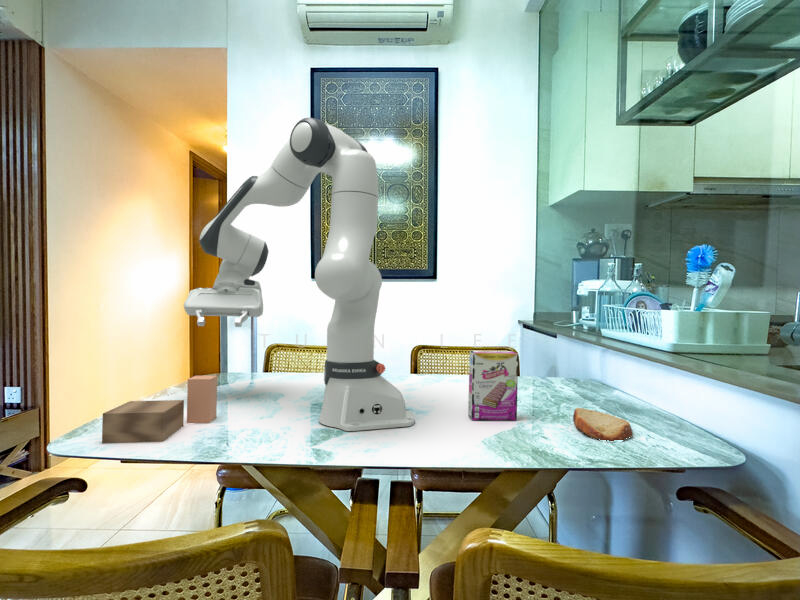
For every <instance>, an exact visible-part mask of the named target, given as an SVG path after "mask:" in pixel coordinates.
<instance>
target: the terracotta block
mask: <svg viewBox="0 0 800 600" xmlns="http://www.w3.org/2000/svg"><path fill="white" fill-rule="evenodd" d="M186 391H187V392H186V393H187V394H186V396H187V397H186V400H187V401H186V402H187V404H186V424H187V423H195V424H211V423H212V422H213V421H214V420H216V418H217V411H218V410H217V403H218V402H217V401H218V398H217V397H218V375H194V376H192V377H189V378H187V390H186ZM211 421H212V422H211ZM210 422H211V423H210Z"/></svg>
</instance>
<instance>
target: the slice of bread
mask: <svg viewBox="0 0 800 600" xmlns="http://www.w3.org/2000/svg"><path fill="white" fill-rule="evenodd" d="M572 417H573V418H572V420H573V424H574V426H575V428H576V429H577V430H578V429H579V430H578V431H580V432H581V433H582V432H583V434H584V433H585V435H586V436H587V437H588V436H589V438H591V437H592V438H591V439H593V438H595V439H600V440H606V441H607V440H609V441H614V440H624V439H625V440H627V439H626V438H629V437H631V436H632V437H633V435H634V434H633V429H632V426H631V424H630V422H628V421H627V420H626V419H624V418H619V417H617V416H615V415H611V414H608V413H604V412H601V411H598V410H597V411H596V410H591V409H587V408H583V407H576V408H575V410H574V412H573V416H572ZM632 437H631V438H632ZM595 439H594V440H595ZM629 439H630V438H629ZM600 440H599V441H600ZM625 440H624V441H625Z"/></svg>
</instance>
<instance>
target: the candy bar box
mask: <svg viewBox="0 0 800 600" xmlns="http://www.w3.org/2000/svg"><path fill="white" fill-rule="evenodd" d="M468 359H469V363H468V364H469V365H468V366H469V367H468V401H467V403H468V406H467V407H468V409H467V410H468V411H467V414H468V417H469V418H470V420H472V421H517V419H518V418H517V417H518V415H517V414H518V381H519V378H518V376H519V352H518V353H517V352H516V351H512V350H469V358H468Z"/></svg>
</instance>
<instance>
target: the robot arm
mask: <svg viewBox="0 0 800 600" xmlns="http://www.w3.org/2000/svg"><path fill="white" fill-rule="evenodd" d="M320 173H322V174H325V175H328V176H331V179H332V181H331V182H332V183H331V201H330V202H331V203H330V204H331V205H330V219H329V229H328V235H327V239H326V243H325V247H324V250H323V254H322V258H321V259H320V260H319V261H318V263H317V265H316V267H315V272H314V280H315V283H316V286H317V287H318V289H319V291H320V292H322V294H324V295H326V297H329V298H331V299H332V300H334V301H335V302H334V306H333V311H332V314H331V318H330V320H329V322H328V324H327V329H326V331H327V332H326V360H325V361H324V366H323V381H324V385H325V387H324V396H323V400H322V407H321V411H320V415H319V418H318V422H319V423H320V424H322V425H324V426H328V427H331V428H336V429H337V428H338V429H339V430H343V431H345V432H356V431H367V430H381V429H393V428H404V427H406V428H407V427H411V426H413V425H414V424H415V423H416V420H415V414H414V413H413V412H412V411H410V410H408V409H407V408H406V402H405V398H404V396H403V394H402V392H401V391H400V390H399V388H397V387H396V386H394V385H393V384H392V383H391V382H390V381H389V380H387V379H386V378H385V377H383V376H382V374H383V373H385V371H386V366H385V365H384V364H383V363H380V362H379V361H377V360H375V359H374V356H375V355H374V354H375V353H374V349H375V346H374V345H375V344H374V343H375V323H376V317H377V311H378V304H379V298H380V290H381V287H382V283H383V277H382V275H381V272H380V271H379V269H378V267H377V266H376V265H375V264H374V263H373V262H372V261H370V256H371V250H372V246H373V241H374V237H375V236H376V234H377V231H378V228H377V227H378V207H379V178H378V177H379V176H378V170H377V164H376V161H375V158H374V157H373V155H371V154H370V153H369V152H368V150H367V149H366V147H365V146H364V145H363V144H362V143H361V142H360V141H359V140H356V139H354V138H353V137H351V136H350V135H348V134H347V133H345V132H344V131H343V130H342V129H339V128H337V127H335V126H334V125H331V124H328V123H326V122H324V121H323V120H321V119H318V118H314V117H304V118H301V119H300V120H299V121H298V122H296V123H295V125H294V127H293V128H292V130H291V132H290V137H289V140H288V141H287V142H286V143H285V144H284V146H283V147H282V148H281V149H280V151H279V152H278V153H277V155H276V156H275V158H274V160H273V162H272V163H271V165H270V167H269V168H268V169H267V170H266V171H265V172H264V173H262V174H260V175H252V176H250V177H248V178H247V179H246V180H245V181H244V182H243V183H242V184H241V186H239V187H238V188H237V190H236V191H235V192H234V193H233V194H232V196H231V197H230V199H229V200H228V201H227V202H226V203H225V205H224V206H223V207H222V208H221V209H220V211H219V212H218V213H217V214H216V215H215V216H214V217H213V219H212V220H210V221H209V222H208V223H207V224H206V225H205V226H204V228H203V229H202V230H201V231H200V232H201V233H200V234H199V239H198V242H199V244H200V247H201V249H202V251H203V252H204V253H205V254H207V255H210V256H213V257H216V258H220V259H222V261H221V263H220V265H219V269H218V271H219V272H218V274H217V276H216V278H215V280H214V283H213V286H212V287H204V288H203V287H196V288H195V289H191V290H190V291H189V294H188V295H187V297H186V299H185V301H184V304H183V308H184V311H185V313H186V314H187V316H196V317H197V321H196V324H197V326H198V327H205V324H206V319H205V317H236V318H235V321H234V326H235V328H241V327H242V325H243V323H244V322H246V321H247V320H248V319H249V318H253V317H254V318H258V317H261V316H262V315H263V313H264V302H263V301H264V299H263V293H262V292H263V291H262V288H261V283H260V282H259V281H258V280H253V279H250V277H254V276H256V275H258V274H260V273H261V272H262V270H263V269H264V267H265V265H266V263H267V259H268V257H269V256H268V255H269V248H268V245H267V242H266V241H264V240H263V239H261V238H258V237H257V236H255V235H252V234H250V233H247V232H245V231H244V230H242V229H240V228H237V227H235V226H233V225H232V224H233V222H234V221H235V220H236V218H237V217H238V216H239V215H240V214H241V213H242V212H243V210H244V209H245V208H246V207H248V206H250V205H266V206H267V205H268V206H273V207H279V208H280V207H282V208H283V207H290V206H294V205H296V204H298V203H300V201H301V200H302V199H303V198H304V196H305V195H306V193H307V192H308V190H309V189H310V187H311V185H312V183H313V182H314V179H315V178H316V176H317V175H318V174H320ZM204 316H205V317H204Z"/></svg>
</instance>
